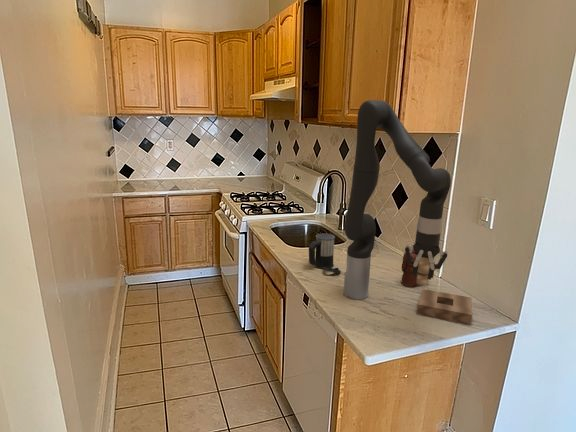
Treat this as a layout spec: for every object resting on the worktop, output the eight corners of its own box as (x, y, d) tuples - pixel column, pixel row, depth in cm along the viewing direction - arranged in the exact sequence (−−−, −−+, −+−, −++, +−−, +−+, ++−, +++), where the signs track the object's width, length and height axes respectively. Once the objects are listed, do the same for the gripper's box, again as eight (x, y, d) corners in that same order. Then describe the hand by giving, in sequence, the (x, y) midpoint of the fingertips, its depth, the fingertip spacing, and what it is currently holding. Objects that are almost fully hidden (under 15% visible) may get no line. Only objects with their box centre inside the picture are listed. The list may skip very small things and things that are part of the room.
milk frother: (320, 260, 191) (321, 231, 187) (349, 267, 183) (351, 238, 179) (305, 269, 180) (306, 239, 176) (335, 278, 172) (336, 246, 168)
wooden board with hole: (416, 314, 142) (417, 304, 141) (420, 297, 154) (421, 288, 153) (470, 325, 135) (472, 314, 134) (470, 307, 147) (471, 297, 146)
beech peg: (414, 284, 131) (418, 257, 129) (416, 279, 135) (419, 253, 132) (427, 287, 130) (431, 259, 127) (428, 282, 133) (432, 255, 131)
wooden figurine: (420, 279, 171) (425, 240, 166) (430, 285, 165) (434, 245, 160) (397, 282, 168) (401, 243, 163) (406, 288, 162) (410, 248, 157)
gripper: (404, 229, 126) (399, 277, 131) (451, 236, 121) (444, 286, 126) (407, 223, 133) (402, 269, 138) (452, 229, 128) (445, 277, 132)
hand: (422, 277), depth 132 cm, fingers closed on beech peg, 4 cm apart
